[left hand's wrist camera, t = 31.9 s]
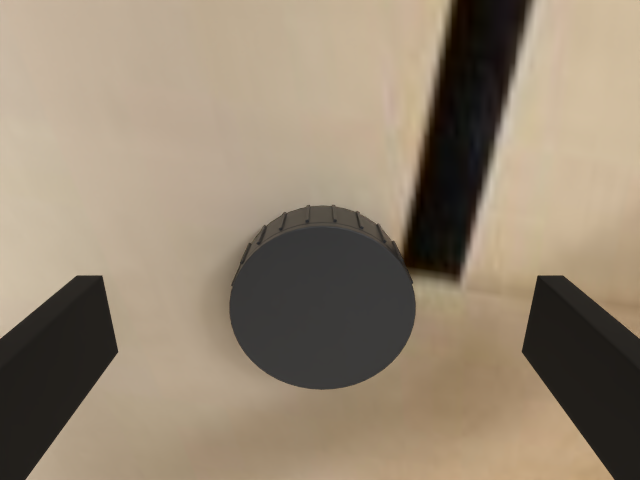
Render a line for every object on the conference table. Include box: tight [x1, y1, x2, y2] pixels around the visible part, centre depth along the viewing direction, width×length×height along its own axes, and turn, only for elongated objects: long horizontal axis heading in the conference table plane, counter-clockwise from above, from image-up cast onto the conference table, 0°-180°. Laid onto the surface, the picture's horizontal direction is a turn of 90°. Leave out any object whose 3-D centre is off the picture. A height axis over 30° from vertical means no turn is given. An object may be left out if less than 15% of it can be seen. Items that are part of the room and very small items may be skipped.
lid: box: [230, 205, 416, 390], centre depth 15 cm, size 6×6×2 cm
